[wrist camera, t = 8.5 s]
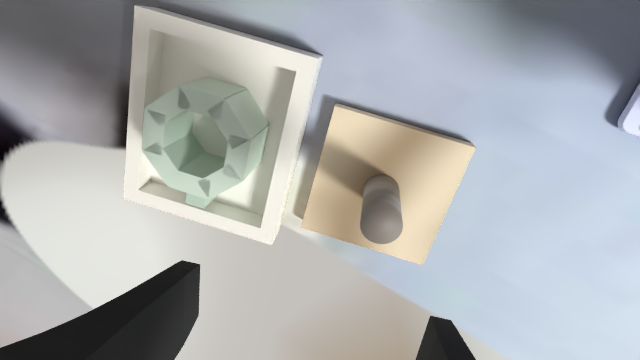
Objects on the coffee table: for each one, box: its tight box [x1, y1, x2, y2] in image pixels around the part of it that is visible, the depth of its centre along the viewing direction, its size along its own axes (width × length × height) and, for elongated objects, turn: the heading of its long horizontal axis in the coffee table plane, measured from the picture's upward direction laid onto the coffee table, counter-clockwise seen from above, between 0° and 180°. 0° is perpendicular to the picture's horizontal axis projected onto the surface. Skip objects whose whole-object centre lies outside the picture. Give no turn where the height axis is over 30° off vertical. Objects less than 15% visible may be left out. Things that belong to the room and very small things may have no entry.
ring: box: [141, 77, 269, 209], centre depth 19 cm, size 5×6×3 cm
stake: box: [301, 103, 476, 265], centre depth 18 cm, size 7×7×5 cm
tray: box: [123, 5, 324, 245], centre depth 20 cm, size 9×10×2 cm
